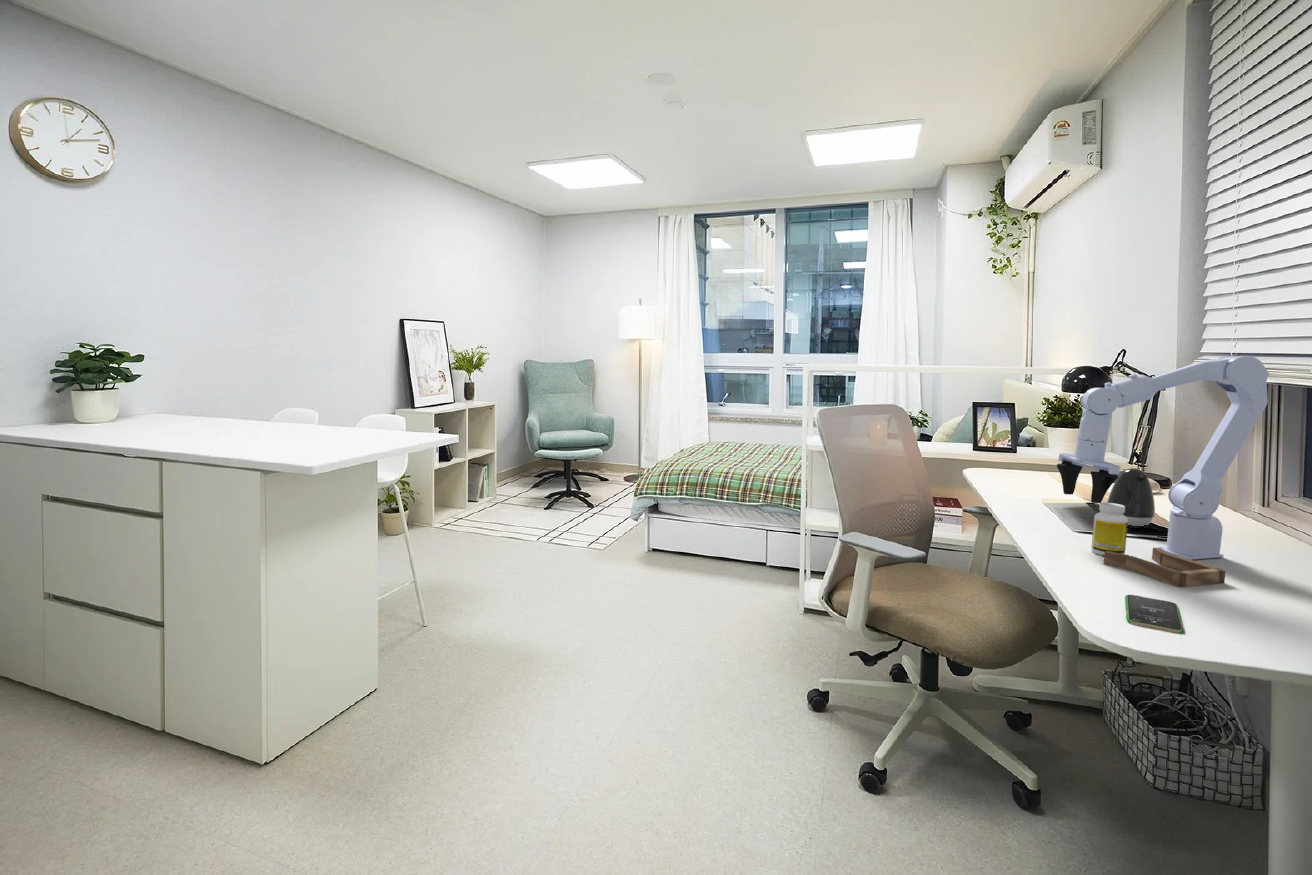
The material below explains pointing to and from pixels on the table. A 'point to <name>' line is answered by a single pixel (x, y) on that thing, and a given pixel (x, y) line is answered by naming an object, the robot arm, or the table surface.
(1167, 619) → the smartphone
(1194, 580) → the wooden u-shaped bracket
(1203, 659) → the table surface
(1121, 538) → the pill bottle
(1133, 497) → the dark grey egg-shaped device
